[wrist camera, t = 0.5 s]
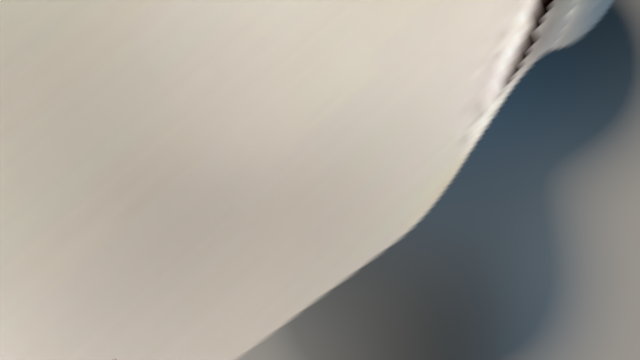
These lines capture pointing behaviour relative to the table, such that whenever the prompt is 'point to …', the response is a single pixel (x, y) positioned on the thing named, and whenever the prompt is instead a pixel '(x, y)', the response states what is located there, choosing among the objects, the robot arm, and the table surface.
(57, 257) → the table surface
